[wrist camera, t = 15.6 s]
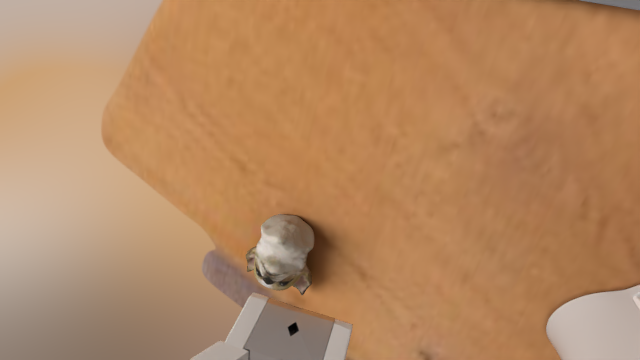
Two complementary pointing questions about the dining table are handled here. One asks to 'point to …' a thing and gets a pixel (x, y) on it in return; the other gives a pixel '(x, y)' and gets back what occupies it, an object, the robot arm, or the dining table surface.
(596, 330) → the robot arm
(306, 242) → the ceramic sculpture
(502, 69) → the dining table surface
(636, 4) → the grey slider track base
